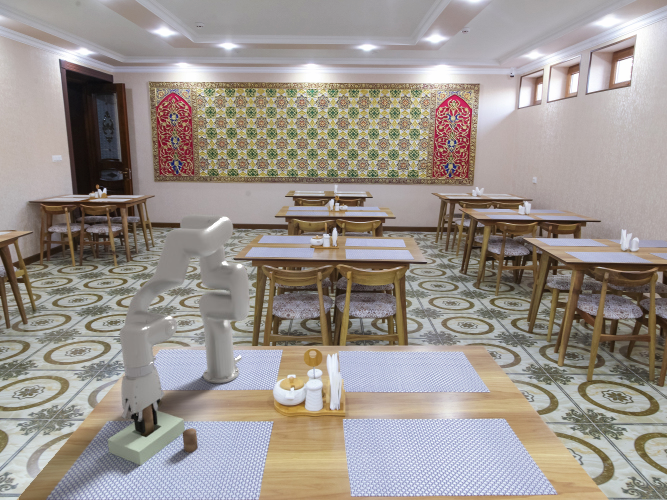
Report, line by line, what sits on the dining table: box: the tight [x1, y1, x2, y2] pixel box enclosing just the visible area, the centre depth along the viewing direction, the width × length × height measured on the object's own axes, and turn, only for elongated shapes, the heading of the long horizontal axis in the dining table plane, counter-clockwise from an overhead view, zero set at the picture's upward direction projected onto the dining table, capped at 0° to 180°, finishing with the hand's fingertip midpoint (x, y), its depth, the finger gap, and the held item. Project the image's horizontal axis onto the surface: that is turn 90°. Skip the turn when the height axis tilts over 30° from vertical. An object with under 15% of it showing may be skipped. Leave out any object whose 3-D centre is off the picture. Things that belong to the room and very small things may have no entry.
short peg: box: [182, 427, 198, 454], centre depth 127 cm, size 4×4×5 cm
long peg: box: [141, 405, 154, 437], centre depth 129 cm, size 4×4×12 cm
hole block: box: [107, 410, 186, 466], centre depth 131 cm, size 16×12×4 cm
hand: (146, 426), depth 130 cm, fingers closed on long peg, 3 cm apart
